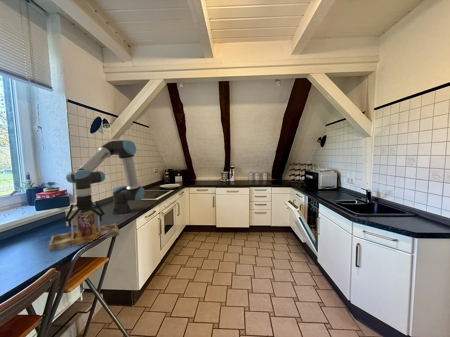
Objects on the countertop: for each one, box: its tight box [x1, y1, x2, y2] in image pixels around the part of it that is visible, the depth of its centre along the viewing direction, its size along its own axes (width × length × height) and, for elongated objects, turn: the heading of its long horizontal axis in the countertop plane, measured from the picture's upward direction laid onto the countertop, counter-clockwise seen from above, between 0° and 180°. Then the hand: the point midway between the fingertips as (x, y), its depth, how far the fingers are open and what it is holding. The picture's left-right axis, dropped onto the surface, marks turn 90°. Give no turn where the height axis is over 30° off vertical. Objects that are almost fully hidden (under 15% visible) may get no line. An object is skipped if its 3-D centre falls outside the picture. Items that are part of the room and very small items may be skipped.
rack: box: [48, 223, 120, 252], centre depth 123 cm, size 34×15×4 cm, turn 126°
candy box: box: [75, 210, 96, 238], centre depth 123 cm, size 9×4×15 cm, turn 140°
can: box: [64, 207, 82, 227], centre depth 148 cm, size 9×9×12 cm
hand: (86, 228), depth 123 cm, fingers open, 13 cm apart
